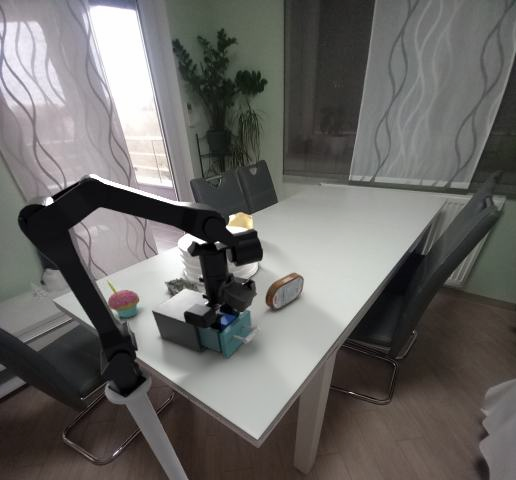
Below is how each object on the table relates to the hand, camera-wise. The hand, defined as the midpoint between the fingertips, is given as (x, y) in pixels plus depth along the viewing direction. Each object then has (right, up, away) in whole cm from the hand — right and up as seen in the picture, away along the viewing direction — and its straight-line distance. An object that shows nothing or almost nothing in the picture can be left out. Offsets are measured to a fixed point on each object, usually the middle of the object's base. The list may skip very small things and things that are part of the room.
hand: (224, 329), depth 68 cm
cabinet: (-9, 0, +7) cm, 11 cm away
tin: (+17, +9, +16) cm, 25 cm away
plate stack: (-6, +26, +37) cm, 46 cm away
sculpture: (0, +48, +63) cm, 80 cm away
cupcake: (-32, +6, +16) cm, 36 cm away
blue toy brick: (0, -1, +1) cm, 1 cm away
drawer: (0, -3, +2) cm, 3 cm away
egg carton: (-17, +14, +24) cm, 33 cm away
